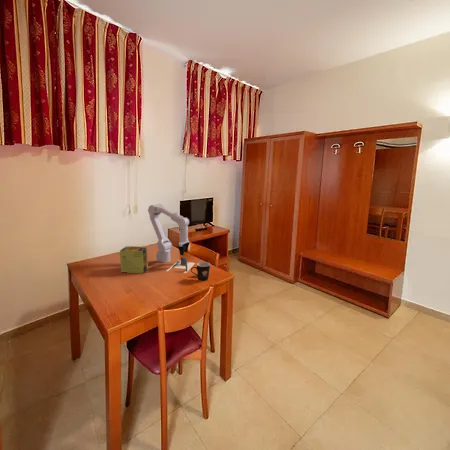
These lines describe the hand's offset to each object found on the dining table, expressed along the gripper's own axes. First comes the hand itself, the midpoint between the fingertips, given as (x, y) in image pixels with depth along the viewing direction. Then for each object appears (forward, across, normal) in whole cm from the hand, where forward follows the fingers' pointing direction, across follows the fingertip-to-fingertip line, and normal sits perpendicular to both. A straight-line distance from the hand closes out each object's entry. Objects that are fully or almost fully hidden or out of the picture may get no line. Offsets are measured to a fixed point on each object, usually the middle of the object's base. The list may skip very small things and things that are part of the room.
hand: (183, 253), depth 182 cm
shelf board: (+10, -5, 0) cm, 11 cm away
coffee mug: (+10, -18, -18) cm, 27 cm away
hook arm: (+8, -12, -5) cm, 15 cm away
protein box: (+10, -15, +30) cm, 35 cm away
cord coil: (+8, 0, 0) cm, 8 cm away
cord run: (+8, -2, +5) cm, 10 cm away
